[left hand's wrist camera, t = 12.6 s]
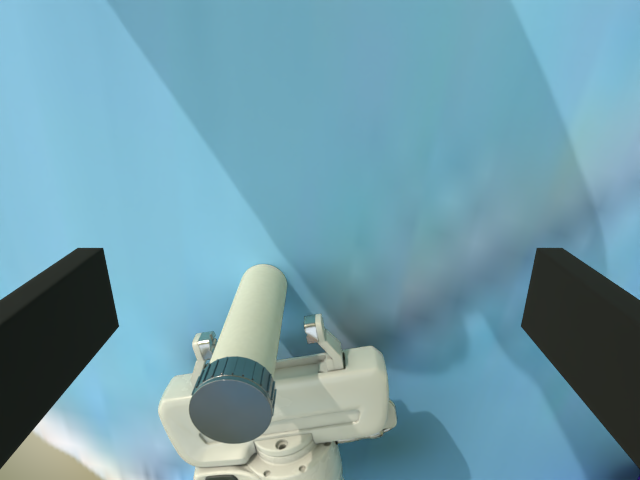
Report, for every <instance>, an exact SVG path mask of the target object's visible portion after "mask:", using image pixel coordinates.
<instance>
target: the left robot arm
mask: <svg viewBox="0 0 640 480" xmlns="http://www.w3.org/2000/svg"><path fill="white" fill-rule="evenodd" d="M118 327H119V324H118V319H117V314H116V309H115V304H114V299H113V294H112V289H111V285H110V280H109V275H108V270H107V265H106V260H105V255H104V250H103V248H77V249H76V250H74V251H73V252H71V253H70V254H68V255H67V256H65V257H64V258H62V259H61V260H59V261H58V262H56V263H55V264H53V265H52V266H50V267H49V268H47V269H46V270H44V271H43V272H41V273H40V274H38V275H37V276H35V277H34V278H33V279H31V280H30V281H28V282H27V283H25V284H24V285H22V286H21V287H19V288H18V289H16V290H15V291H13V292H12V293H10V294H9V295H7V296H6V297H4V298H3V299H1V300H0V469H1V468H2V466H3V465H4V464H5V463H6V462H7V460H8V459H9V458H10V457H11V455H12V454H13V453H14V452H15V451H16V450H17V448H18V447H19V446H20V445H21V443H22V442H23V441H24V440H25V439H26V438H27V436H28V435H29V434H30V433H31V432H32V430H33V429H34V428H35V427H36V425H37V424H38V423H39V422H40V421H41V419H42V418H43V417H44V416H45V415H46V413H47V412H48V411H49V410H50V409H51V407H52V406H53V405H54V404H55V403H56V401H57V400H58V399H59V398H60V397H61V395H62V394H63V393H64V392H65V391H66V389H67V388H68V387H69V386H70V385H71V383H72V382H73V381H74V380H75V379H76V377H77V376H78V375H79V374H80V373H81V371H82V370H83V369H84V368H85V367H86V365H87V364H88V363H89V362H90V361H91V359H92V358H93V357H94V356H95V355H96V353H97V352H98V351H99V350H100V349H101V347H102V346H103V345H104V344H105V343H106V341H107V340H108V339H109V338H110V337H111V335H112V334H113V333H114V332H115V331H116V329H117V328H118ZM521 327H522V328H523V329H524V331H525V332H526V333H527V334H528V335H529V337H530V338H531V339H532V340H533V341H534V343H535V344H536V345H537V346H538V347H539V349H540V350H541V351H542V352H543V353H544V355H545V356H546V357H547V358H548V359H549V361H550V362H551V363H552V364H553V365H554V367H555V368H556V369H557V370H558V371H559V373H560V374H561V375H562V376H563V377H564V379H565V380H566V381H567V382H568V383H569V385H570V386H571V387H572V388H573V389H574V391H575V392H576V393H577V394H578V395H579V397H580V398H581V399H582V400H583V401H584V403H585V404H586V405H587V406H588V407H589V409H590V410H591V411H592V412H593V413H594V415H595V416H596V417H597V418H598V419H599V421H600V422H601V423H602V424H603V426H604V427H605V428H606V429H607V430H608V432H609V433H610V434H611V435H612V436H613V438H614V439H615V440H616V441H617V442H618V444H619V445H620V446H621V447H622V448H623V450H624V451H625V452H626V453H627V454H628V456H629V457H630V458H631V459H632V460H633V462H634V463H635V464H636V465H637V466H638V468H639V469H640V300H639V299H637V298H636V297H634V296H633V295H631V294H630V293H628V292H627V291H625V290H624V289H622V288H621V287H619V286H618V285H616V284H615V283H613V282H612V281H610V280H609V279H607V278H606V277H605V276H603V275H602V274H600V273H599V272H597V271H596V270H594V269H593V268H591V267H590V266H588V265H587V264H585V263H584V262H582V261H581V260H579V259H578V258H576V257H575V256H573V255H572V254H570V253H569V252H567V251H566V250H564V249H563V248H537V250H536V255H535V260H534V265H533V270H532V275H531V280H530V285H529V289H528V294H527V299H526V304H525V309H524V314H523V319H522V324H521Z"/></svg>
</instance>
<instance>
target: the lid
mask: <svg viewBox="0 0 640 480" xmlns="http://www.w3.org/2000/svg"><path fill="white" fill-rule="evenodd" d="M276 392H277V389H276V388H275V381H274V380H273V378H272V374H270V373H269V371H268V370H267V369H266V368H265V367H264V366H262V365H261V364H259V363H258V362H257V361H254V360H251V359H249V358H245V357H238V356H231V357H224V358H221V359H217V360H216V361H214V362H212V363H209V364H208V366H207V367H206V368H205V369H203V370H202V372H201V374H200V376H198V379H197V381H196V384H195V386H194V389H193V391H192V394H191V395H192V397H191V400H190V403H189V415H190V418H191V421H192V423H193V424H194V426H195V427H196V428H197V429H198V430H199V431H200V432H201V433H202V434H203V435H205V436H206V437H208V438H210V439H212V440H215V441H218V442H221V443H227V444H240V443H246V442H249V441H252V440H254V439H256V438H258V437H259V436H261V435H262V434H263V433H264V432H265V431H266V430H267V428H268V427H269V425H270V423H271V420H272V416H273V414H274V407H275V400H276Z"/></svg>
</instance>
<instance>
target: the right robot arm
mask: <svg viewBox="0 0 640 480" xmlns="http://www.w3.org/2000/svg"><path fill="white" fill-rule="evenodd" d="M304 320H305V321H304V329H305V333H306V338H307V342H308V344H309V343H317V342H318V344H319V345H320V346H321V347H322V348H323V349H324V350H325V352H326V353H319V354H313V355H307V356H300V357H294V358H287V359H281V360H276V365H275V372H274V378H273V380H274V381H275V388H276V389H277V392H276V400H275V407H274V414H273V416H272V420H271V423H270V425H269V427H268V428H267V430H266V431H265V432H264V433H263V434H262V435H261V436H259V437H258V438H256V439H254V440H252V441H249V442H246V443H240V444H227V443H221V442H218V441H215V440H212V439H210V438H208V437H206V436H205V435H203V434H202V433H201V432H200V431H199V430H198V429H197V428H196V427H195V426H194V424H193V423H192V421H191V418H190V415H189V403H190V400H191V397H192V395H191V394H192V391H193V389H194V386H195V384H196V381H197V379H198V376H200V374H201V372H202V370H203V369H205V368H206V367H207V366H208V364H209V363H207V364H206V360H208V359H211V358H212V355H213V352H214V350H215V347H216V345H217V342H218V341H217V339H216V338H215V333H214V331H210V332H203V333H197V334H196V335H195V337H194V339H193V343H192V346H193V350H194V353H195V355H196V358H197V361H196V364H195V367H194V371H193V373H190V374H183V375H177V376H175V377H173V378H172V380H171V381H170V383H169V384H168V386H167V387H166V389H165V391H164V393H163V395H162V398H161V400H160V403H159V407H158V413H159V417H160V419H161V422H162V424H163V426H164V429H165V431H166V433H167V435H168V437H169V439H170V441H171V443H172V444H173V446H174V448H175V449H176V451H177V453H178V454H179V455H180V457H181V458H182V459H183V460H184V461H186V462H187V463H189V464H190V465H193V466H196V467H195V472H194V480H344V478H343V476H342V460H341V456H340V452H339V447H338V444H341V443H348V442H354V441H356V440H357V441H358V440H361V439H368V438H370V439H376V438H380V437H382V436H384V435H383V433H385V432H388V431H389V430H391V429H392V428H393V427H395V426H396V423H397V412H396V406H395V404H394V402H393V401H392V400H391V399H390V398H389V385H388V376H387V370H386V365H385V361H384V357H383V354H382V353H381V352H380V351H379V350H377V349H376V348H375V347H373V346H364V347H358V348H352V349H345V350H342V348H341V343H340V341H339V340H338V339H337V338H335V337H334V336H333V335H332V334H331V333H330V332H329V331H328V330H327V329H325V327H324V323H323V318H322V314H316V315H310V316H304Z"/></svg>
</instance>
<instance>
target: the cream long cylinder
mask: <svg viewBox="0 0 640 480" xmlns="http://www.w3.org/2000/svg"><path fill="white" fill-rule="evenodd" d="M286 292H287V281H286V278H285V276H284V274H283V273H282V272H281V271H280V270H279V269H277V268H276V267H274V266H271V265H267V264H259V265H255V266H253V267H251V268H249V269H248V270H247V271H246V272H245V273H244V275H243V277H242V279H241V282H240V285H239V287H238V290H237V292H236V295H235V298H234V300H233V303H232V305H231V308H230V311H229V313H228V316H227V318H226V321H225V324H224V326H223V329H222V332H221V334H220V337H219V339H218V342H217V345H216V347H215V350H214V352H213V355H212V358H211V360H210V363H212V362H214V361H216V360H217V359H221V358H224V357H231V356H238V357H245V358H249V359H251V360H254V361H257V362H258V363H259V364H261V365H262V366H264V367H265V368H266V369H267V370H268V371H269V373H270V374H272V378H274V372H275V365H276V358H277V352H278V345H279V338H280V332H281V325H282V318H283V312H284V305H285V298H286Z"/></svg>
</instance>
